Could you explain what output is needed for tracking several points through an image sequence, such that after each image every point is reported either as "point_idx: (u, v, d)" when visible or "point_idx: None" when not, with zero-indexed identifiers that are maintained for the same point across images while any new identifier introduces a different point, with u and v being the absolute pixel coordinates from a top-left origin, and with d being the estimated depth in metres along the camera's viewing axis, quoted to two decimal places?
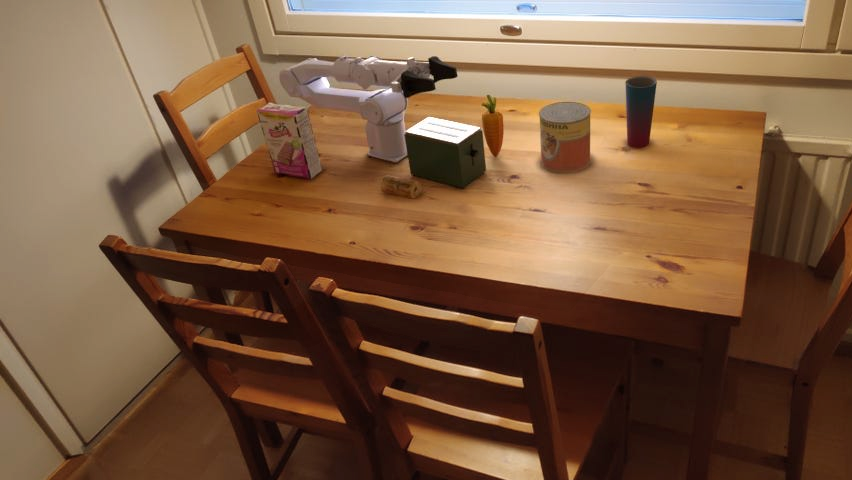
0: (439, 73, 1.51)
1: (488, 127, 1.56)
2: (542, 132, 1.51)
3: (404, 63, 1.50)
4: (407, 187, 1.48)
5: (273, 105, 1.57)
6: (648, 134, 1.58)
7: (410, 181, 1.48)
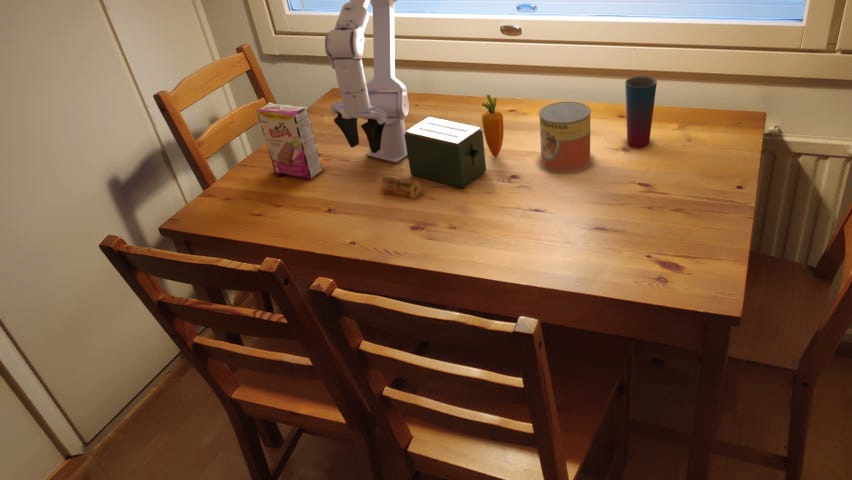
0: None
1: (488, 127, 1.56)
2: (542, 132, 1.51)
3: (345, 107, 1.43)
4: (407, 187, 1.48)
5: (273, 105, 1.57)
6: (648, 134, 1.58)
7: (410, 181, 1.48)
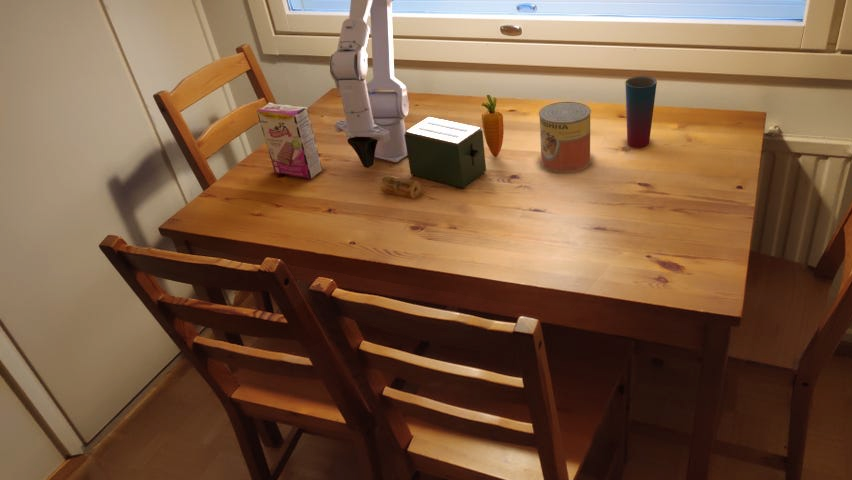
0: None
1: (488, 127, 1.56)
2: (542, 132, 1.51)
3: (349, 126, 1.45)
4: (407, 187, 1.48)
5: (273, 105, 1.57)
6: (648, 134, 1.58)
7: (410, 181, 1.48)
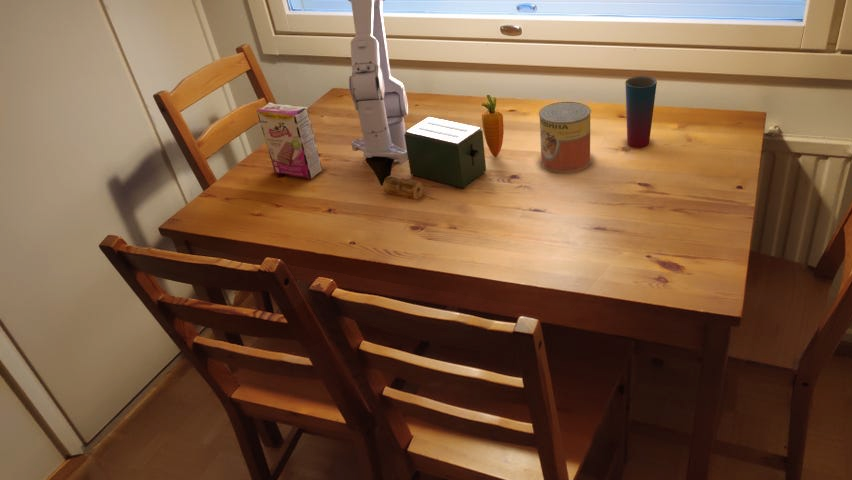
0: None
1: (488, 127, 1.56)
2: (542, 132, 1.51)
3: (367, 146, 1.45)
4: (410, 188, 1.47)
5: (273, 105, 1.57)
6: (648, 134, 1.58)
7: (413, 182, 1.48)
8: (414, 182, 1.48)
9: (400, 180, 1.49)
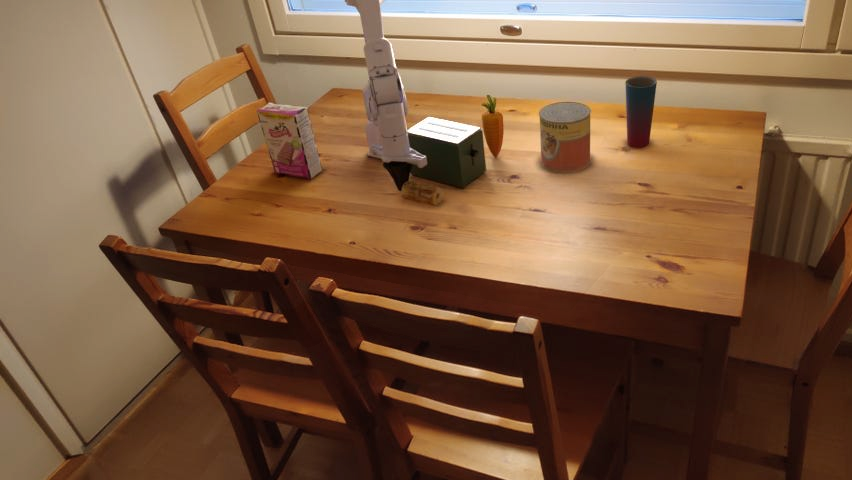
0: None
1: (488, 127, 1.56)
2: (542, 132, 1.51)
3: (385, 151, 1.43)
4: (429, 193, 1.45)
5: (273, 105, 1.57)
6: (648, 134, 1.58)
7: (432, 187, 1.45)
8: (433, 187, 1.45)
9: (419, 185, 1.46)
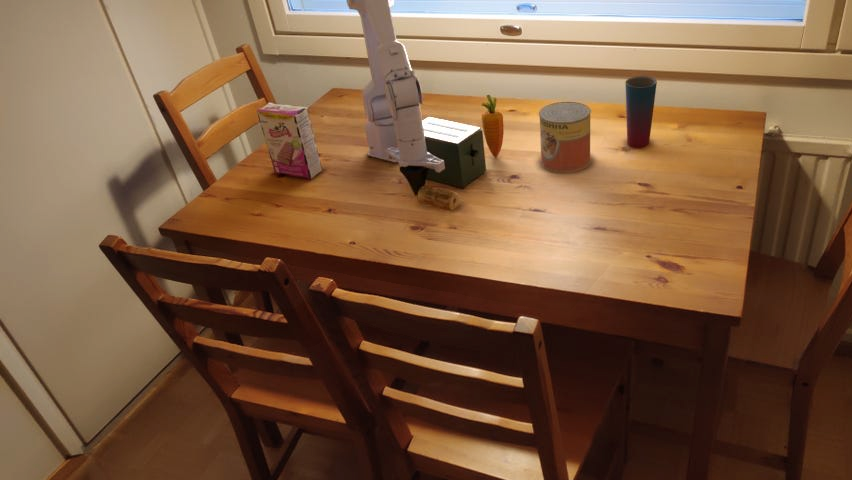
0: None
1: (488, 127, 1.56)
2: (542, 132, 1.51)
3: (402, 155, 1.40)
4: (446, 198, 1.42)
5: (273, 105, 1.57)
6: (648, 134, 1.58)
7: (449, 192, 1.42)
8: (450, 192, 1.42)
9: (436, 190, 1.43)
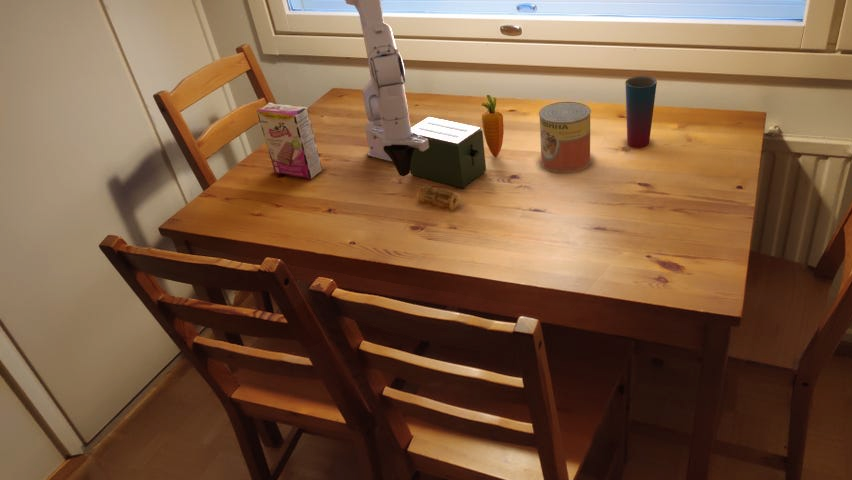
0: None
1: (488, 127, 1.56)
2: (542, 132, 1.51)
3: (386, 134, 1.40)
4: (446, 198, 1.42)
5: (273, 105, 1.57)
6: (648, 134, 1.58)
7: (449, 192, 1.42)
8: (450, 192, 1.42)
9: (436, 190, 1.43)
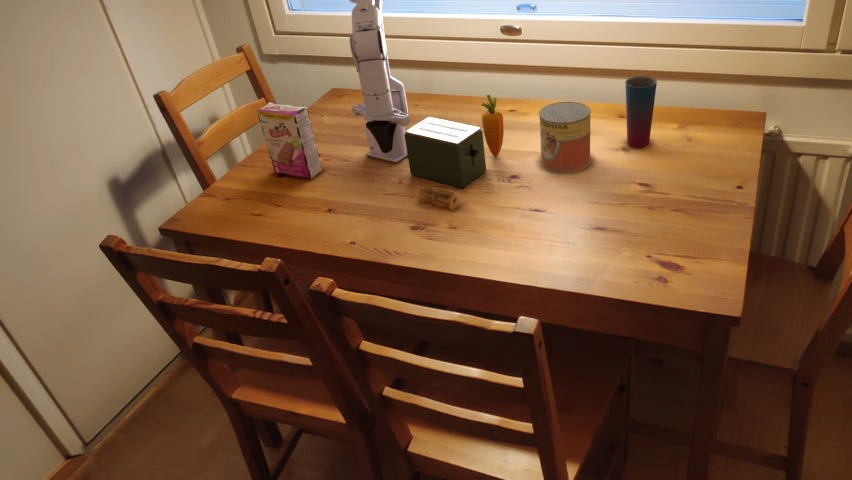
0: None
1: (488, 127, 1.56)
2: (542, 132, 1.51)
3: (368, 110, 1.41)
4: (446, 198, 1.42)
5: (273, 105, 1.57)
6: (648, 134, 1.58)
7: (449, 192, 1.42)
8: (450, 192, 1.42)
9: (436, 190, 1.43)
